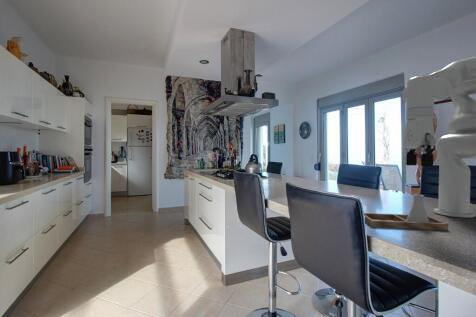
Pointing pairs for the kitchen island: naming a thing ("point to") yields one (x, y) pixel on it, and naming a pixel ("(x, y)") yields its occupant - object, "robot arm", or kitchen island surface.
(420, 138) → the robot arm
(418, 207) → the flask
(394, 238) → the kitchen island surface
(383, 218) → the divider frame
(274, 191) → the kitchen island surface
